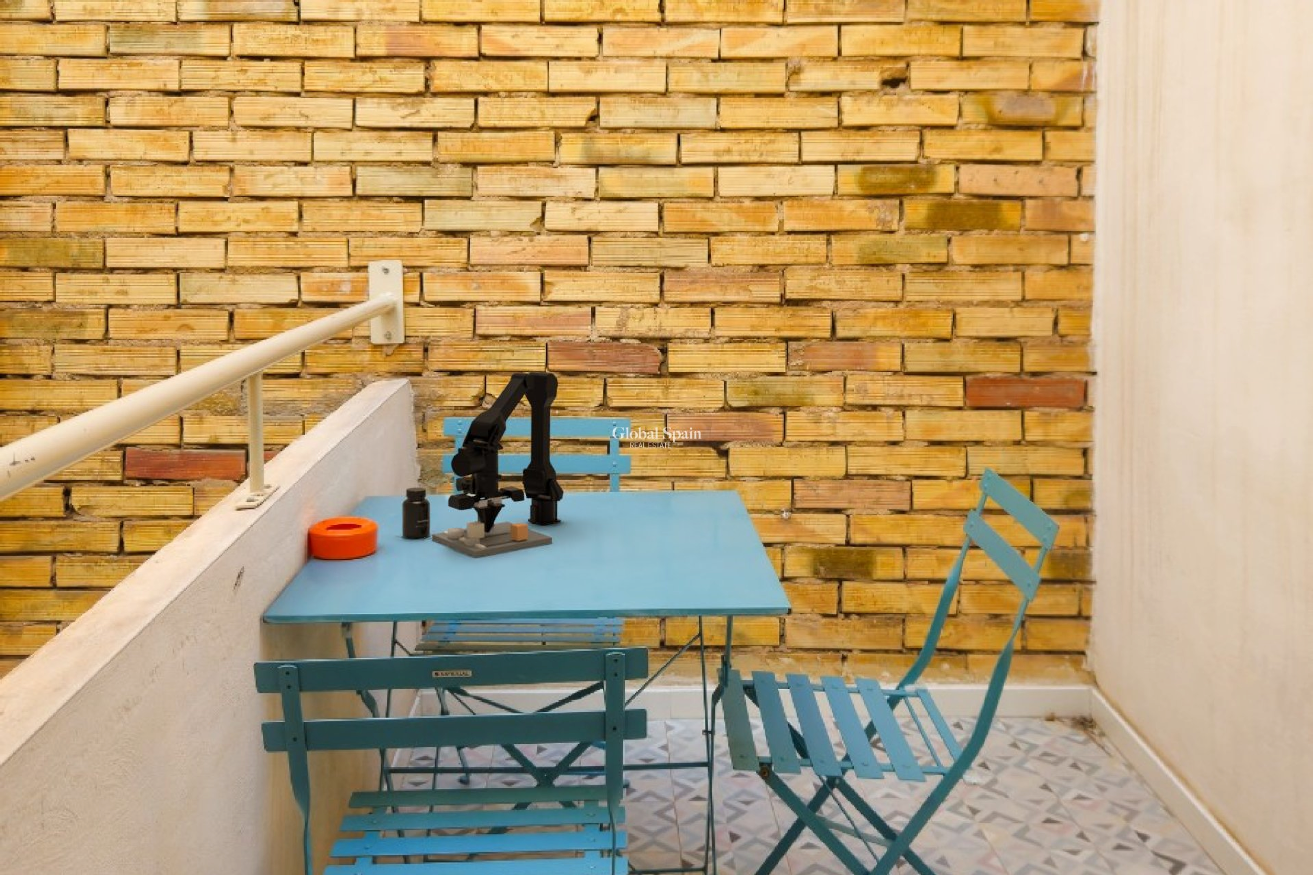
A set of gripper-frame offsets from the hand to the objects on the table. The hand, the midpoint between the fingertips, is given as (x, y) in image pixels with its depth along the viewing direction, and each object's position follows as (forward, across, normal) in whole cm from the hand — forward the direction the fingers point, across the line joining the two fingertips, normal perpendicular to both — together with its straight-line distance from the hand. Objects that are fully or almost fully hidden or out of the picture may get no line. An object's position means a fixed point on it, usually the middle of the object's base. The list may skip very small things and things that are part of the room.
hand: (487, 532), depth 302 cm
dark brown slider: (+1, -4, -8) cm, 9 cm away
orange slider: (+1, -4, +7) cm, 9 cm away
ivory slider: (+1, +3, 0) cm, 3 cm away
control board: (+3, -2, 0) cm, 3 cm away
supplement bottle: (+3, +10, -16) cm, 19 cm away
